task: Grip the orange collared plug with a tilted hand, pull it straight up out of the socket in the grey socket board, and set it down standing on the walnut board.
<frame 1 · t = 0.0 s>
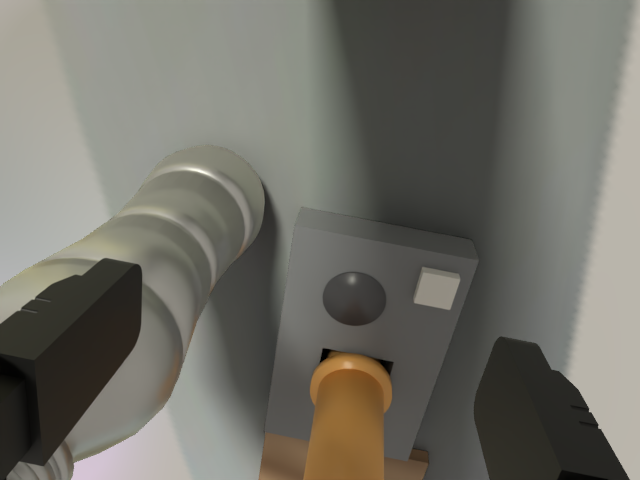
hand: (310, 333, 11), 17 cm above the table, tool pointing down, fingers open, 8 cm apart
grey socket board: (359, 332, 32), on the table
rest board: (337, 474, 38), on the table
plastic bottle: (218, 189, 29), on the table
plug: (353, 355, 33), resting in grey socket board
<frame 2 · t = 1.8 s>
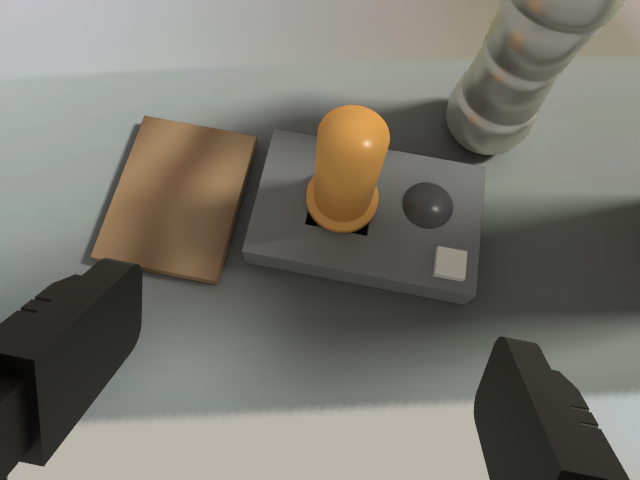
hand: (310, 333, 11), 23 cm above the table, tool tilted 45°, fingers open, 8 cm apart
grey socket board: (364, 221, 37), on the table
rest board: (180, 199, 37), on the table
plastic bottle: (477, 131, 41), on the table
plug: (338, 216, 37), resting in grey socket board
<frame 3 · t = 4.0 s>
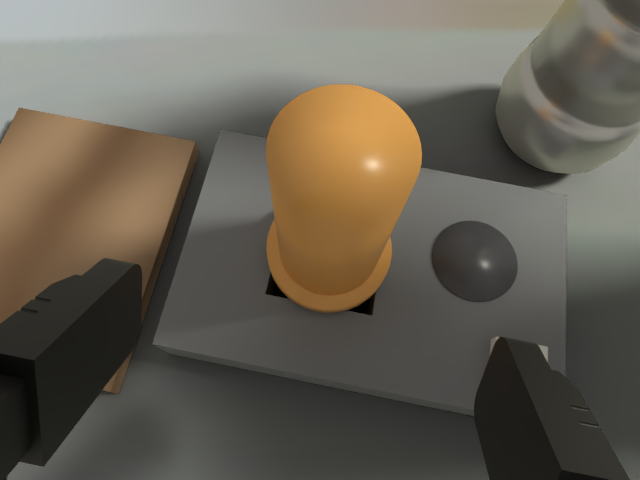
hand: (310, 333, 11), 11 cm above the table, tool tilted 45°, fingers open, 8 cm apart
grey socket board: (367, 280, 23), on the table
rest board: (69, 242, 23), on the table
plastic bottle: (541, 136, 26), on the table
plug: (325, 272, 23), resting in grey socket board
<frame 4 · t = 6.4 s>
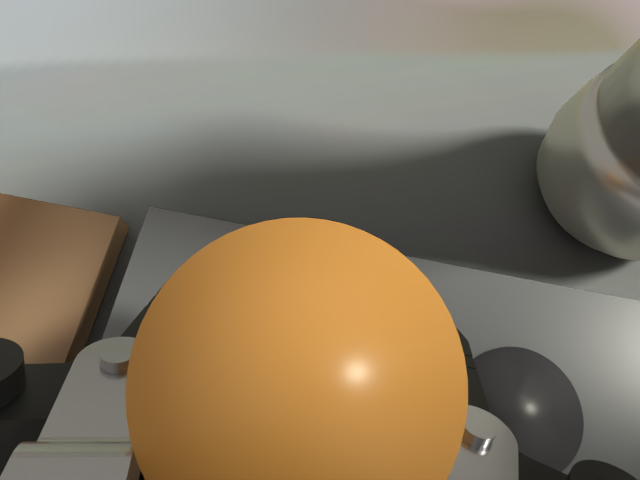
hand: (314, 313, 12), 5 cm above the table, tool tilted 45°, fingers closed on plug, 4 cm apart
grey socket board: (360, 420, 16), on the table
plastic bottle: (595, 199, 20), on the table
plug: (298, 408, 16), resting in grey socket board, touching gripper
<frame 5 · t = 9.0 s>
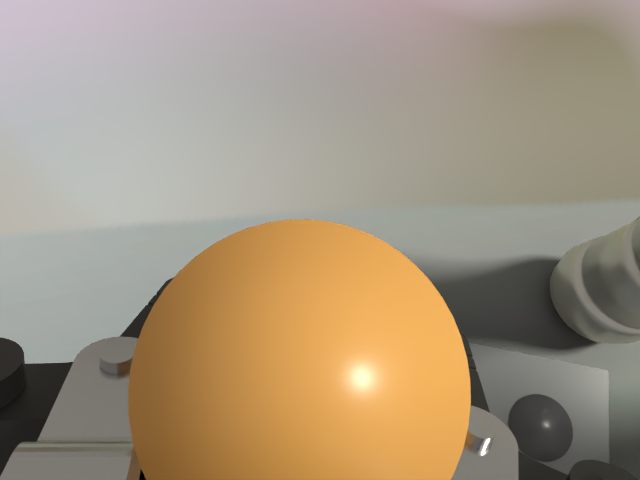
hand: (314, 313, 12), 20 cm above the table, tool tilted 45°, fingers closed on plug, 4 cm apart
grey socket board: (455, 430, 30), on the table
plastic bottle: (584, 301, 33), on the table
plug: (299, 409, 16), point 15 cm above the table, touching gripper
when the fingers open (8 cm above the table, at t = 12.1 s): plug drops 1 cm, resting on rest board.
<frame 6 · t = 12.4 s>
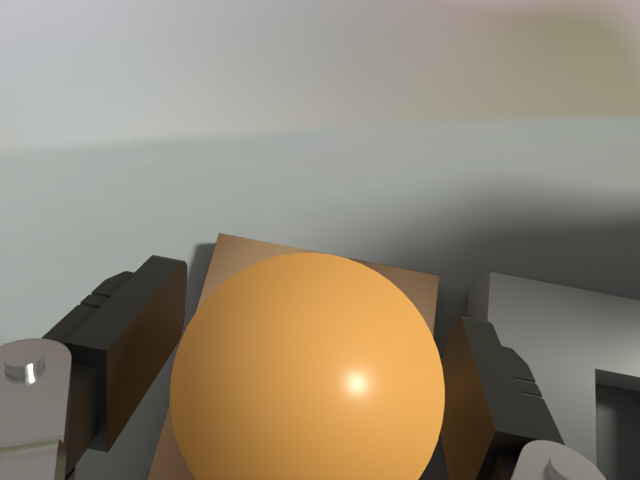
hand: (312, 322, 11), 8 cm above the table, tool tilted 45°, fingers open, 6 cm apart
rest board: (297, 410, 18), on the table
plug: (300, 413, 17), point 1 cm above the table, touching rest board
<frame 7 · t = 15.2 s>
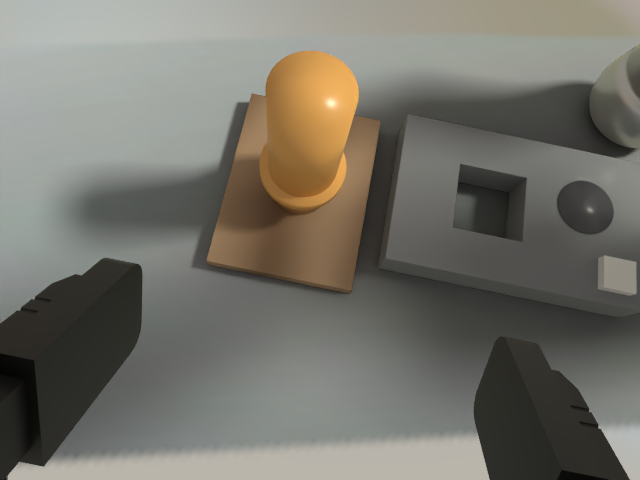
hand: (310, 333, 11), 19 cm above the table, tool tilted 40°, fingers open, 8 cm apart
grey socket board: (504, 221, 33), on the table
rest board: (298, 192, 32), on the table
plastic bottle: (617, 120, 36), on the table
plug: (300, 188, 31), point 1 cm above the table, touching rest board
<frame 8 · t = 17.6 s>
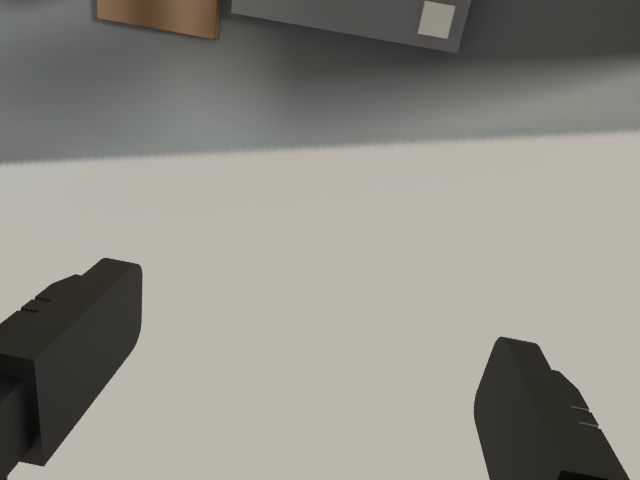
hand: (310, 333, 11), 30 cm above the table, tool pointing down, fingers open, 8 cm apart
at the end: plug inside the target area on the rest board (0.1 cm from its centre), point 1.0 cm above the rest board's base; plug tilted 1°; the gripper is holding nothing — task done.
